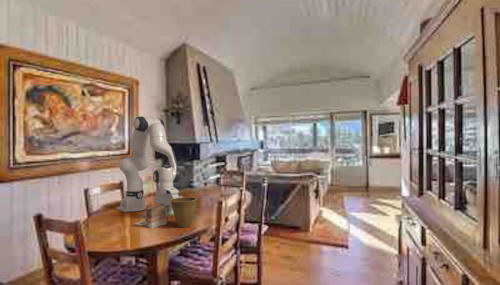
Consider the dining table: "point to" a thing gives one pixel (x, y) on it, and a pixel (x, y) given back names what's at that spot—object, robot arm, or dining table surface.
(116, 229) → the dining table surface
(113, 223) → the dining table surface
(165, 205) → the brick sage
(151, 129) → the robot arm
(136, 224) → the page
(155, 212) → the brick walnut
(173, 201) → the plant pot
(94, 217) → the dining table surface
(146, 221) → the base brick
